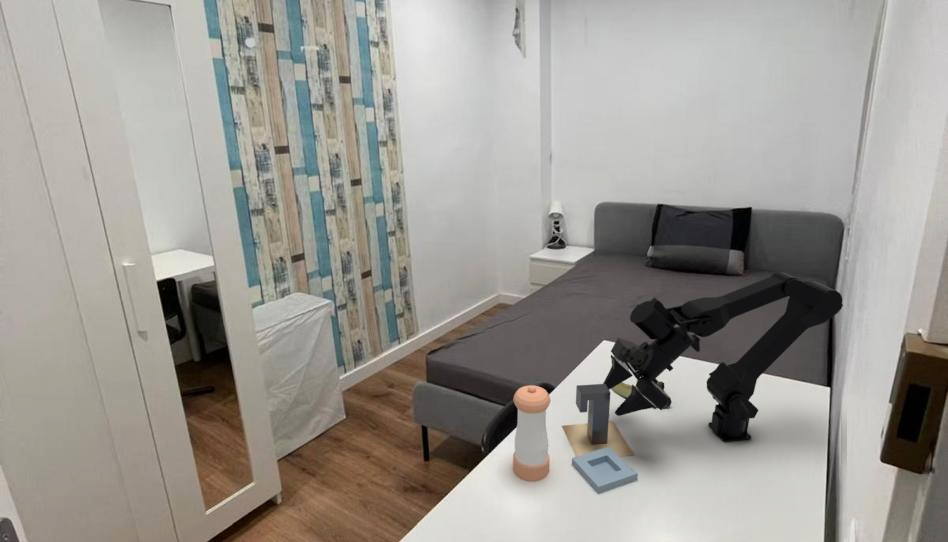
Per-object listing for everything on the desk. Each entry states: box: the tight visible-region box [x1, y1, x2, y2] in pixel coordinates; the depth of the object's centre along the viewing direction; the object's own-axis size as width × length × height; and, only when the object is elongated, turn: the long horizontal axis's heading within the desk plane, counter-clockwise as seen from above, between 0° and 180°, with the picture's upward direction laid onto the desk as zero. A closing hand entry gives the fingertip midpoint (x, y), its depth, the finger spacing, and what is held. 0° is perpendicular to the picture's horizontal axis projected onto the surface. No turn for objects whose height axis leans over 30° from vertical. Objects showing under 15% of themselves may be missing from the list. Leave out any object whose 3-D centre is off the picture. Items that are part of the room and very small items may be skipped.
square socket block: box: [571, 447, 638, 495], centre depth 101 cm, size 9×9×2 cm
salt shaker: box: [512, 385, 551, 482], centre depth 100 cm, size 7×7×19 cm
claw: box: [610, 381, 672, 407], centre depth 130 cm, size 20×10×3 cm, turn 40°
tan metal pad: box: [561, 420, 635, 458], centre depth 111 cm, size 12×12×1 cm
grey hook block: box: [575, 383, 611, 445], centre depth 109 cm, size 6×3×13 cm, turn 94°
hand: (608, 402), depth 108 cm, fingers open, 9 cm apart
